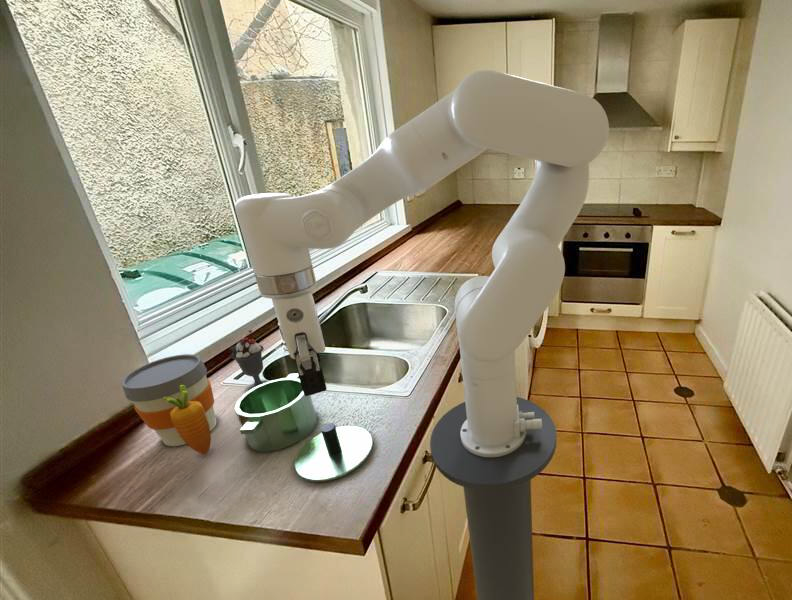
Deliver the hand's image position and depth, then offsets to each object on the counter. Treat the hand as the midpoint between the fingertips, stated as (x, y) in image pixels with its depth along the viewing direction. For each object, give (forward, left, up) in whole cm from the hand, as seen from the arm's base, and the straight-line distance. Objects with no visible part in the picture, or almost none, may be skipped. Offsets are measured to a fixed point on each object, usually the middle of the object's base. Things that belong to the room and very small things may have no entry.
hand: (313, 377), depth 65 cm
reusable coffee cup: (+35, -11, -19) cm, 41 cm away
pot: (+15, -10, -19) cm, 26 cm away
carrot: (+27, -4, -19) cm, 33 cm away
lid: (+1, -2, -18) cm, 18 cm away
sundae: (+29, -26, -19) cm, 44 cm away
